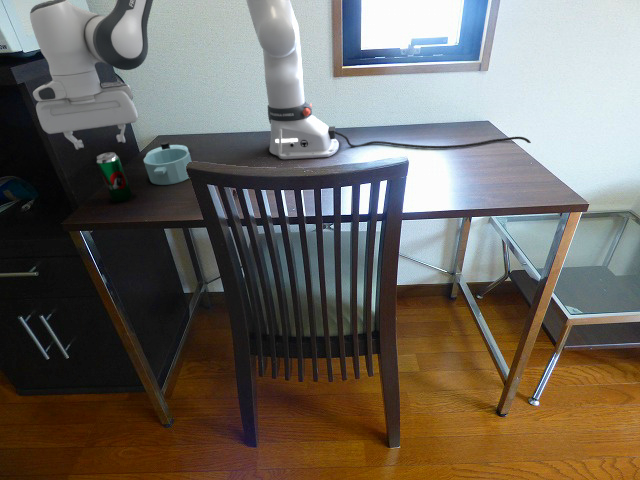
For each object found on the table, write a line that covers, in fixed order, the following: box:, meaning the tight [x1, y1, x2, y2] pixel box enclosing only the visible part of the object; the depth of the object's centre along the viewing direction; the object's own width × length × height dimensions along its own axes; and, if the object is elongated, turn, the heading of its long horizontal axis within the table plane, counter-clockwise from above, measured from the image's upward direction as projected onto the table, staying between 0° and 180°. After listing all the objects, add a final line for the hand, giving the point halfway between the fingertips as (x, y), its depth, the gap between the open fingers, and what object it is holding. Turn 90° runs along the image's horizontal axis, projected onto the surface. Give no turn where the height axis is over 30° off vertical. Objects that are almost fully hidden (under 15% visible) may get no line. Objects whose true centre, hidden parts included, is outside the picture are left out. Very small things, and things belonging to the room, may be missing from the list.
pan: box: [142, 147, 193, 186], centre depth 111 cm, size 12×18×6 cm
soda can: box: [96, 151, 133, 203], centre depth 98 cm, size 5×5×12 cm
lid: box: [145, 141, 189, 157], centre depth 126 cm, size 13×13×4 cm
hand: (101, 145), depth 94 cm, fingers open, 8 cm apart
